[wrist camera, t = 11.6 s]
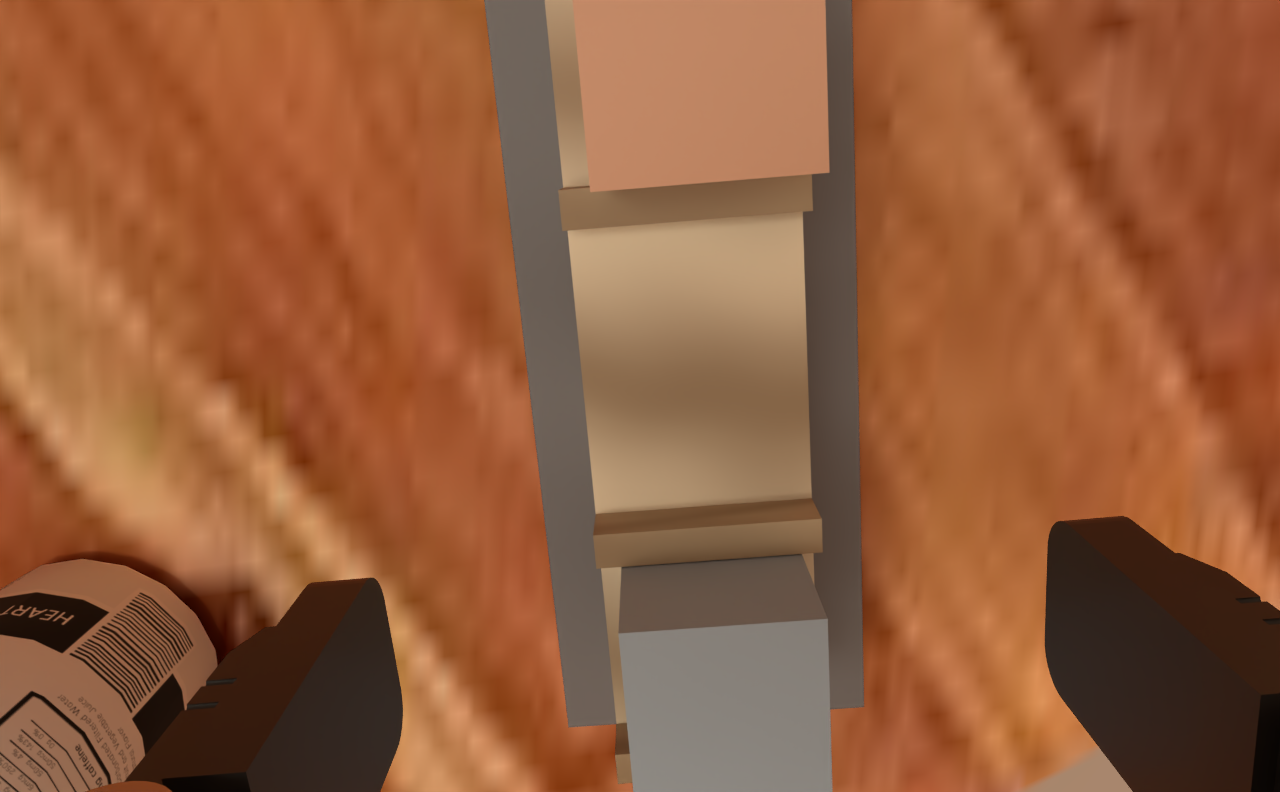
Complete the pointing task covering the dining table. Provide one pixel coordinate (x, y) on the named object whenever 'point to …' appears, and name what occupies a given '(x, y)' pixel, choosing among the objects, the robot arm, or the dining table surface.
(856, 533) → the dock
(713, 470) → the pallet
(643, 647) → the block
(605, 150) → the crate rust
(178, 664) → the supplement can
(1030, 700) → the dining table surface
